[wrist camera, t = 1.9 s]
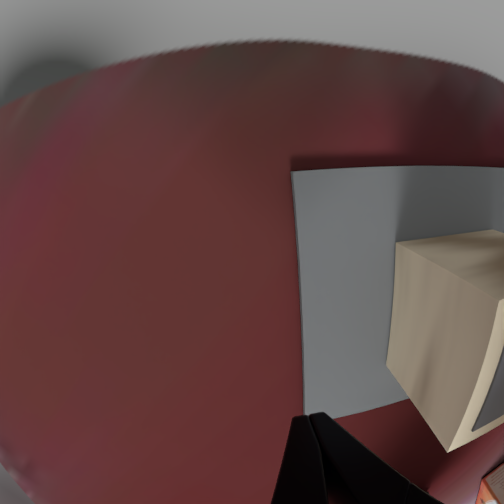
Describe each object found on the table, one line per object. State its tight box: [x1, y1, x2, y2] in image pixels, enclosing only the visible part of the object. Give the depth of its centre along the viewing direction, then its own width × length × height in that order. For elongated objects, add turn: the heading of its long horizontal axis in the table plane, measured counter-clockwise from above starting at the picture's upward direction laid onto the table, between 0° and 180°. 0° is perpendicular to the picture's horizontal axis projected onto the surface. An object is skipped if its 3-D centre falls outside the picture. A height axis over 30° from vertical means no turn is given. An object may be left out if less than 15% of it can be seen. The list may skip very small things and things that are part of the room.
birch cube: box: [386, 229, 504, 453], centre depth 10 cm, size 6×6×6 cm
